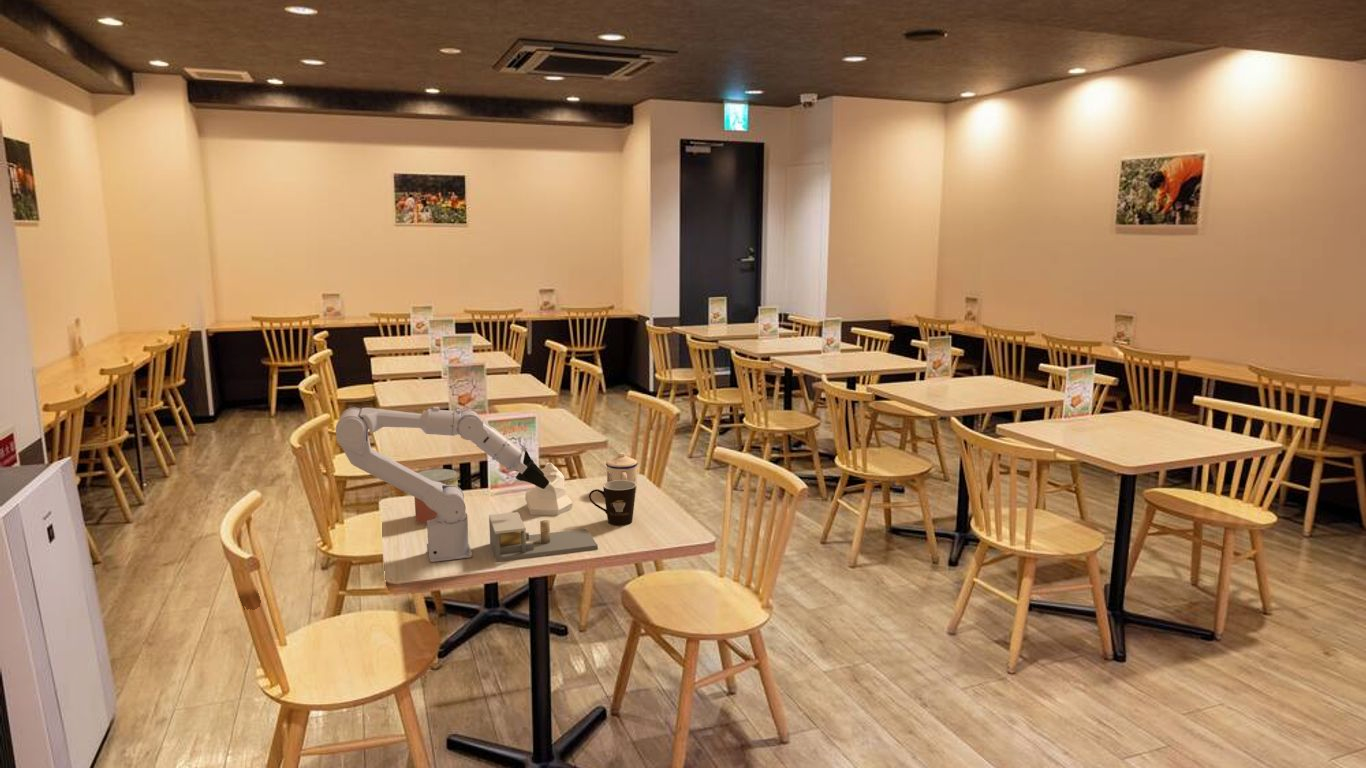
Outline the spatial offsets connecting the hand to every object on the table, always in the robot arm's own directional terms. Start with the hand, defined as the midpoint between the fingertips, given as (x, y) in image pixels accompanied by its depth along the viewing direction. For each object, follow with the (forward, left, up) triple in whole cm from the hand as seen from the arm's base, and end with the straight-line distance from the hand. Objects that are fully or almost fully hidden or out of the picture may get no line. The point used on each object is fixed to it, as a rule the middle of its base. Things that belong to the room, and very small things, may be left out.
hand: (544, 481), depth 206 cm
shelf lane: (-1, -1, -16) cm, 16 cm away
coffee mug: (+20, +11, -16) cm, 28 cm away
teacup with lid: (+28, +33, -16) cm, 46 cm away
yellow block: (-5, -1, -15) cm, 16 cm away
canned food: (-24, +28, -16) cm, 40 cm away
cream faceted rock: (+6, +27, -16) cm, 32 cm away
